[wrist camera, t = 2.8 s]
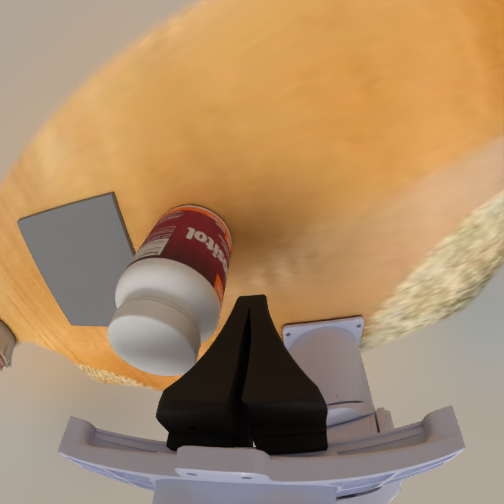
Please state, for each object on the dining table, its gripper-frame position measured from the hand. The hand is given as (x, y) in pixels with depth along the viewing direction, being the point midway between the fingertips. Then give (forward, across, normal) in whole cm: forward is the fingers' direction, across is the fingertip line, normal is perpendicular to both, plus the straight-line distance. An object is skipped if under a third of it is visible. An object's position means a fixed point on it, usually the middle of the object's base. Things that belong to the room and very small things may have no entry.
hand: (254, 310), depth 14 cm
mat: (+8, +17, +2) cm, 19 cm away
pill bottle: (+9, +5, 0) cm, 10 cm away
